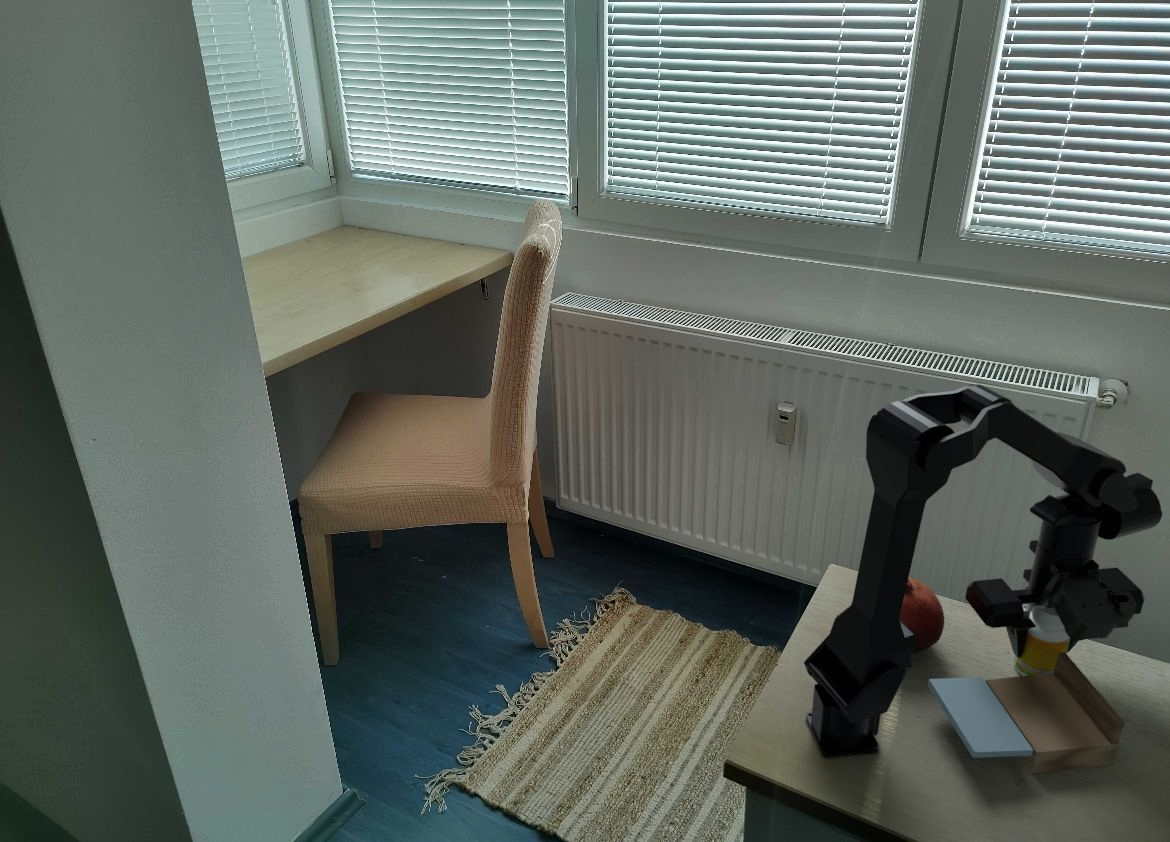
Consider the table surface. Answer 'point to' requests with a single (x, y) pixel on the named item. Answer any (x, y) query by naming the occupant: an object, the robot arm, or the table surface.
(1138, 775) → the table surface
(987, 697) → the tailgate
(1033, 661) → the supplement bottle
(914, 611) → the fruit
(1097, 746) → the brown platform with wall
